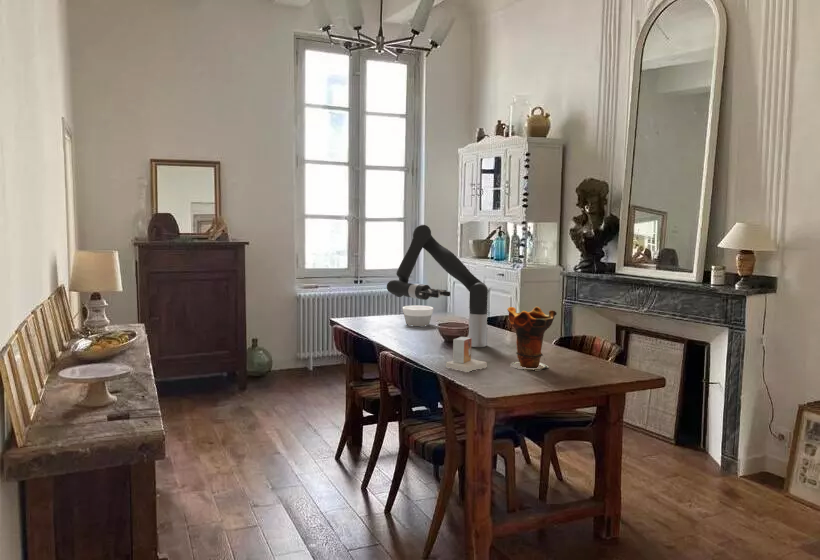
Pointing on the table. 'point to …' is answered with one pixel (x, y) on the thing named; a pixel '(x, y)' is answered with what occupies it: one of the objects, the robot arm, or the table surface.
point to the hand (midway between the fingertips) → (444, 294)
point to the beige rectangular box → (467, 365)
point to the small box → (462, 349)
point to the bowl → (417, 315)
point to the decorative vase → (530, 335)
